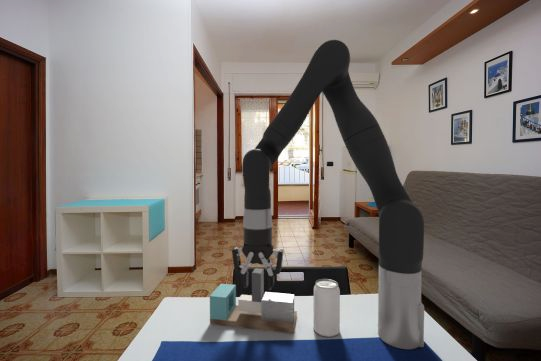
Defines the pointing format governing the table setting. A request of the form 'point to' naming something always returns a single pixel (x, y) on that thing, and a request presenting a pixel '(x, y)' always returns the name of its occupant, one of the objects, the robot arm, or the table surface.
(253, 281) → the sliding bolt
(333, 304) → the can
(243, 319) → the board
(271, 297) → the grey speckled block
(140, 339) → the table surface
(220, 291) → the socket
